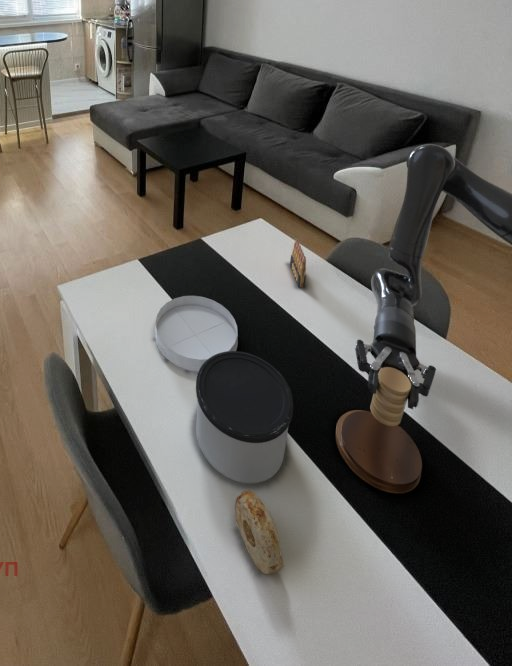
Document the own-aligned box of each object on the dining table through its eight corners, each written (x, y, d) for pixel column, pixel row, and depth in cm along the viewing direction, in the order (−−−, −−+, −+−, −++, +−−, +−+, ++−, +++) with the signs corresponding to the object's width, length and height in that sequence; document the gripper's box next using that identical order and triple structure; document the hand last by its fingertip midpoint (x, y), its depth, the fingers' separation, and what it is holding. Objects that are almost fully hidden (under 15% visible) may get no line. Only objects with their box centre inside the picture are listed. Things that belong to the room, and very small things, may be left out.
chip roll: (401, 408, 85) (411, 374, 81) (400, 431, 81) (411, 396, 77) (371, 396, 88) (379, 362, 84) (369, 418, 84) (378, 383, 80)
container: (191, 394, 102) (192, 348, 96) (273, 399, 100) (279, 352, 94) (198, 484, 84) (200, 434, 79) (297, 492, 82) (306, 441, 77)
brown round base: (418, 440, 90) (422, 429, 88) (421, 514, 78) (425, 502, 77) (338, 405, 97) (341, 395, 96) (330, 468, 86) (332, 456, 84)
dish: (183, 388, 103) (183, 374, 101) (140, 324, 122) (140, 311, 120) (255, 353, 111) (256, 339, 109) (205, 298, 130) (205, 285, 128)
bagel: (228, 518, 79) (231, 484, 75) (245, 509, 80) (249, 476, 76) (264, 590, 70) (269, 556, 66) (283, 580, 71) (289, 546, 67)
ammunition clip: (289, 266, 141) (293, 236, 137) (295, 267, 141) (299, 236, 137) (297, 289, 132) (302, 258, 127) (304, 290, 131) (308, 258, 127)
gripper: (359, 308, 95) (352, 366, 82) (439, 334, 87) (445, 403, 74) (354, 333, 97) (346, 393, 84) (431, 360, 90) (435, 431, 77)
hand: (392, 397), depth 79 cm, fingers closed on chip roll, 5 cm apart
